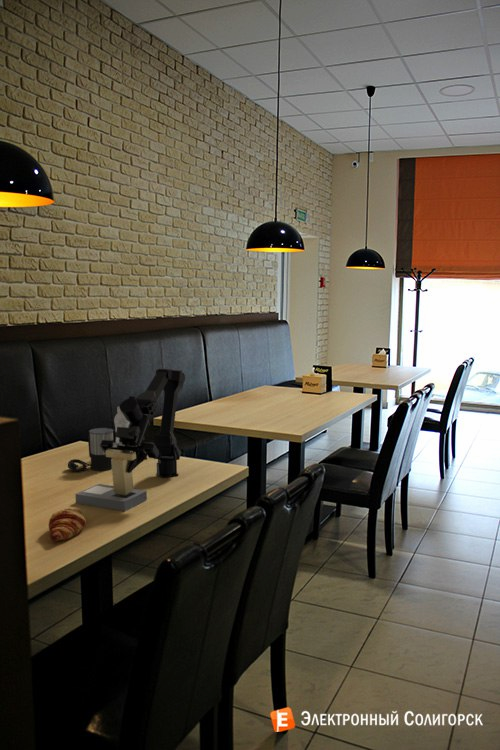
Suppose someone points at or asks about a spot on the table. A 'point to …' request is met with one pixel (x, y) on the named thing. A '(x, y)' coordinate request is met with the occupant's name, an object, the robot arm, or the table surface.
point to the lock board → (110, 498)
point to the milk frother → (95, 451)
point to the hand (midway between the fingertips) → (121, 471)
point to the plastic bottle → (120, 422)
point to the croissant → (66, 524)
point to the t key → (121, 470)
